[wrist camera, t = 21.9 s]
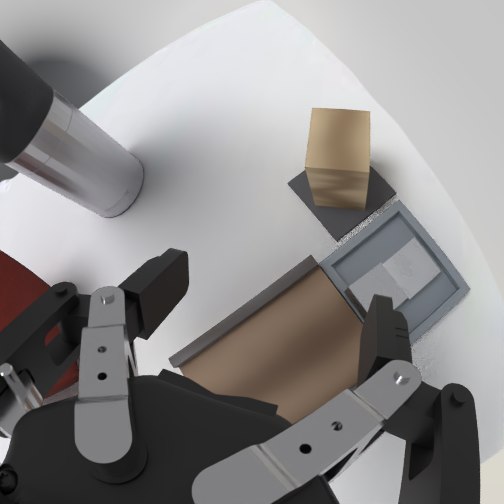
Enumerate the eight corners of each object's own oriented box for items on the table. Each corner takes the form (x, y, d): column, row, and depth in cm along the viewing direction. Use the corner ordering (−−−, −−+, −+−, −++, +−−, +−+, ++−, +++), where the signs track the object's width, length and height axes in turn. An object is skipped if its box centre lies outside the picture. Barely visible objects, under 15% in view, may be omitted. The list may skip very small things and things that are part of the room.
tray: (320, 267, 30) (318, 263, 28) (396, 205, 29) (398, 199, 28) (388, 359, 26) (390, 360, 24) (464, 291, 25) (470, 289, 24)
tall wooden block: (315, 205, 31) (304, 166, 24) (321, 154, 32) (312, 107, 25) (364, 210, 30) (369, 172, 22) (367, 158, 31) (370, 111, 23)
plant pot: (105, 399, 33) (-9, 414, 17) (33, 417, 36) (-52, 424, 20) (72, 263, 39) (-26, 229, 24) (10, 309, 42) (-69, 292, 27)
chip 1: (343, 292, 27) (348, 286, 26) (375, 268, 28) (381, 262, 26) (370, 328, 26) (376, 324, 24) (401, 302, 26) (407, 297, 25)
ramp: (188, 356, 31) (168, 358, 28) (315, 264, 30) (311, 254, 26) (250, 452, 27) (237, 466, 23) (389, 364, 26) (396, 369, 22)
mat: (288, 184, 33) (287, 183, 33) (344, 142, 32) (344, 140, 32) (336, 241, 30) (336, 240, 30) (395, 193, 29) (396, 192, 29)
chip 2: (414, 237, 26) (411, 241, 27) (382, 264, 26) (380, 267, 28) (440, 271, 25) (436, 274, 26) (409, 299, 25) (406, 301, 26)
